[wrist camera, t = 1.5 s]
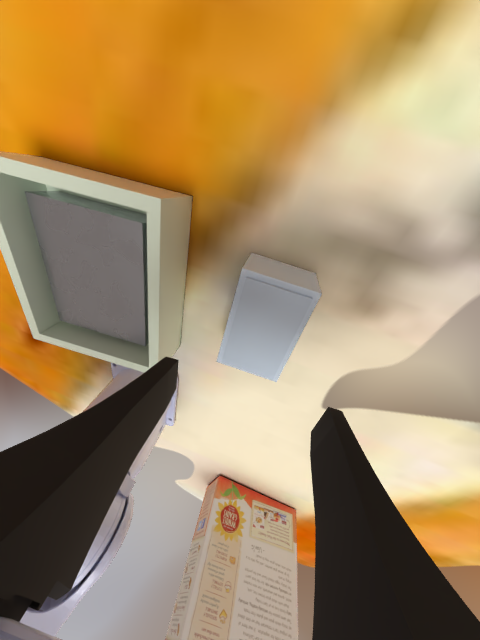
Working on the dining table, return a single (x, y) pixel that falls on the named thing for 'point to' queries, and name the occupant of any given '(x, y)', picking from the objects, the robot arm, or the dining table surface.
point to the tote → (162, 255)
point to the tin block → (94, 262)
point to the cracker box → (239, 570)
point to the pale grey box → (267, 316)
